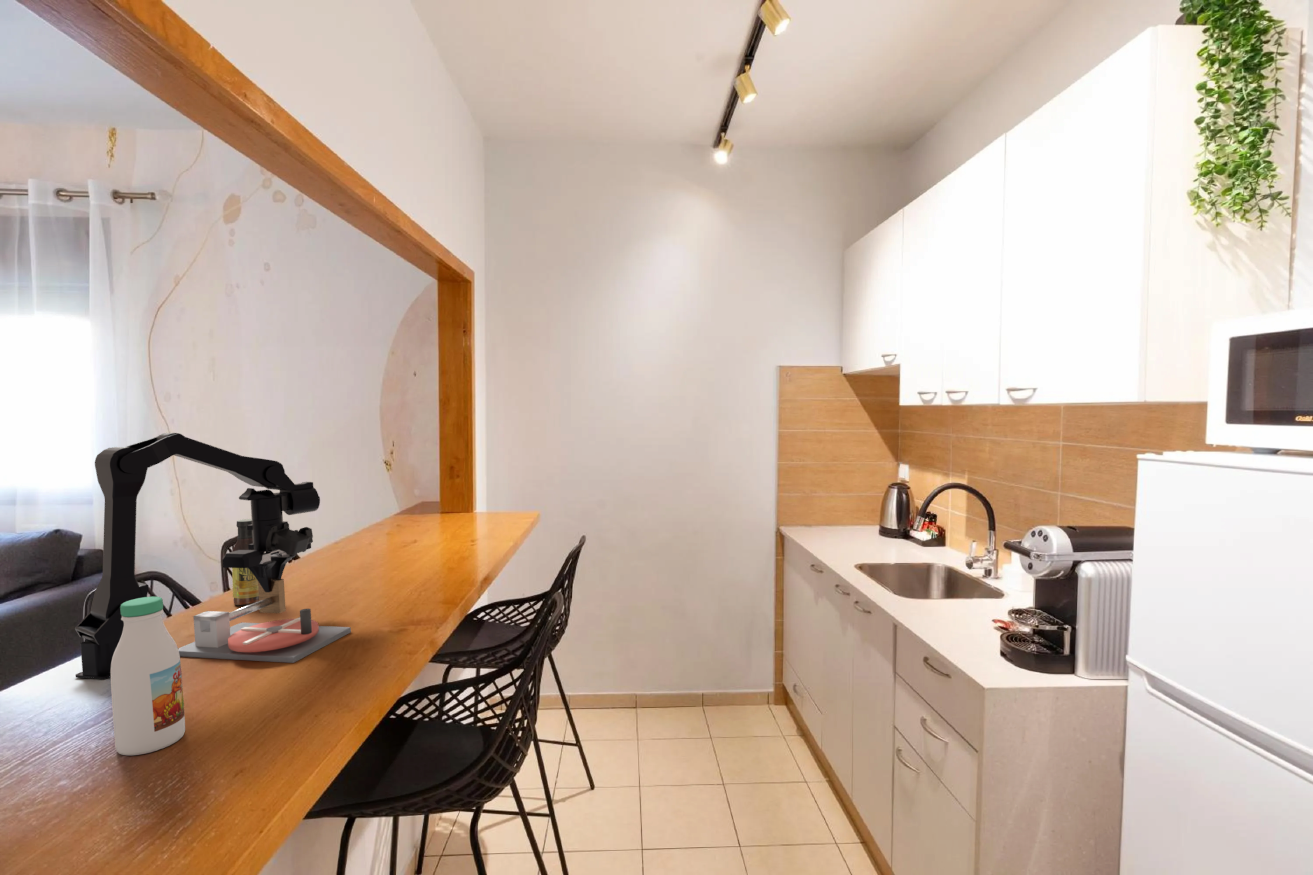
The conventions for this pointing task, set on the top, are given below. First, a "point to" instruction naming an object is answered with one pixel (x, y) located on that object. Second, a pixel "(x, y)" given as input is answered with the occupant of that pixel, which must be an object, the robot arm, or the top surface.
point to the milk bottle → (146, 681)
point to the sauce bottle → (244, 569)
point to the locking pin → (265, 601)
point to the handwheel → (274, 634)
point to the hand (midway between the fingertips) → (271, 590)
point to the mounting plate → (214, 644)
